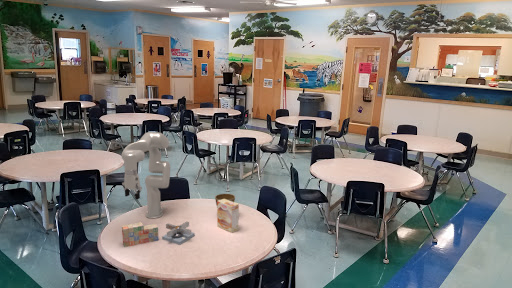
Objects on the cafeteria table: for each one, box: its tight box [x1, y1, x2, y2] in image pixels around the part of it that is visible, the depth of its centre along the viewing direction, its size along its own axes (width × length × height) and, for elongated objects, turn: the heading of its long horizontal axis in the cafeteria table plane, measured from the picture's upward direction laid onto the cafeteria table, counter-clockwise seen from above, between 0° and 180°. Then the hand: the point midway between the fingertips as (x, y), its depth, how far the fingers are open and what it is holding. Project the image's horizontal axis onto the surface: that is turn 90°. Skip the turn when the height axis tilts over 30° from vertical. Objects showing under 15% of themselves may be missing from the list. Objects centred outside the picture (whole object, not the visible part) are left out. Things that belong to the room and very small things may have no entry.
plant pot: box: [214, 193, 236, 206], centre depth 278 cm, size 15×15×16 cm
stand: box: [161, 231, 196, 246], centre depth 244 cm, size 15×15×2 cm
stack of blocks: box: [121, 221, 159, 248], centre depth 237 cm, size 21×6×12 cm, turn 118°
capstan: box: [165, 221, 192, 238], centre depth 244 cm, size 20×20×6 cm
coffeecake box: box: [216, 199, 240, 234], centre depth 258 cm, size 15×7×20 cm, turn 47°
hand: (132, 197), depth 238 cm, fingers open, 9 cm apart
